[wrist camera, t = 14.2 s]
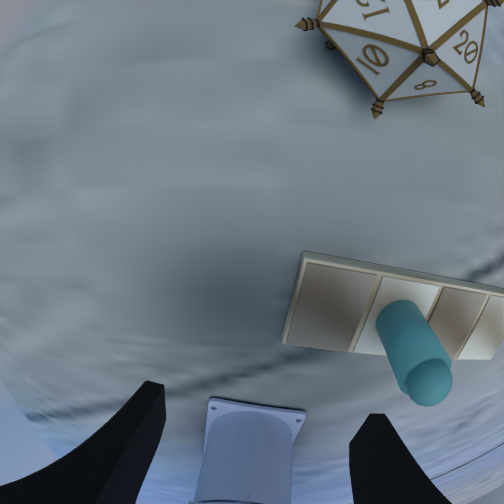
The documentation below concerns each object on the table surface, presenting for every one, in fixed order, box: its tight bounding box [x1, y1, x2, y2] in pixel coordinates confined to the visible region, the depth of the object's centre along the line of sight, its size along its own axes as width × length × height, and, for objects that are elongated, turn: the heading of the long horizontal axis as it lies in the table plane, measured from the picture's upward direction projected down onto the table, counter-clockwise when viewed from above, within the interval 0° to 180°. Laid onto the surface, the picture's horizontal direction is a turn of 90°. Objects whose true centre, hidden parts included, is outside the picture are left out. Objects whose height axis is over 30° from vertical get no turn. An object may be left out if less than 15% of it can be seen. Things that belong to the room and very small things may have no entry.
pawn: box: [376, 300, 452, 406], centre depth 14 cm, size 3×3×7 cm
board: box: [282, 251, 504, 360], centre depth 18 cm, size 6×18×1 cm, turn 81°
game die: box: [295, 0, 504, 120], centre depth 9 cm, size 9×8×10 cm
